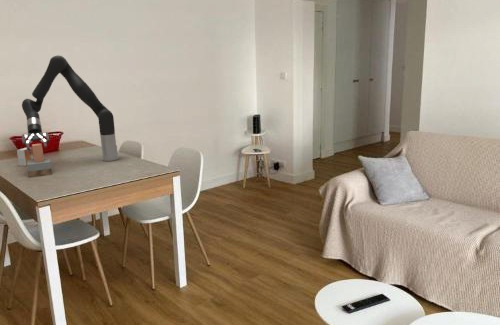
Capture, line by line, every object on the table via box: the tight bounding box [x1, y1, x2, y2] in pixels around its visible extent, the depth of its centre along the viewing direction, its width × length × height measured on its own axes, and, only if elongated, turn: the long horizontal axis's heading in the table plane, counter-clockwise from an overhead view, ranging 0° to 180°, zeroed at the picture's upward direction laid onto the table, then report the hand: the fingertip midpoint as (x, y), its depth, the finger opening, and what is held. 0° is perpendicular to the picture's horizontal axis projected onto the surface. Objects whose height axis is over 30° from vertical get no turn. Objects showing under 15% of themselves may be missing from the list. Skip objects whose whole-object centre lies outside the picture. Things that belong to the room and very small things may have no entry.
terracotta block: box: [31, 142, 45, 163], centre depth 248 cm, size 5×5×10 cm
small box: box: [16, 147, 34, 167], centre depth 274 cm, size 8×6×10 cm
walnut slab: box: [27, 169, 53, 178], centre depth 250 cm, size 12×12×4 cm
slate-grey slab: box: [27, 157, 52, 172], centre depth 249 cm, size 12×12×4 cm
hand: (37, 148), depth 246 cm, fingers open, 8 cm apart
